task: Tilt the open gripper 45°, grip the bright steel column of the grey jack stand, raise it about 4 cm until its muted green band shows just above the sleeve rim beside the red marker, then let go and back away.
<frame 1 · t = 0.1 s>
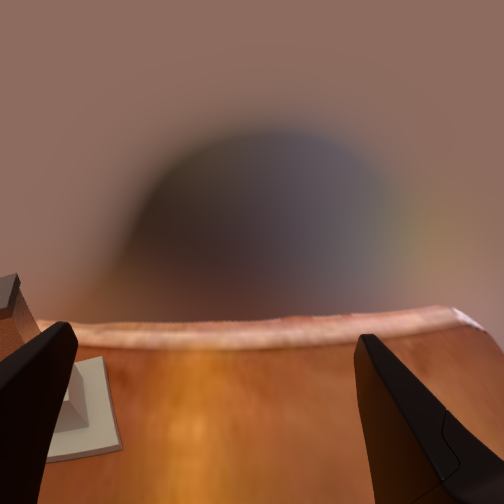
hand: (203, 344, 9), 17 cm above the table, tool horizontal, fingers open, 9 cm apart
stand base: (63, 412, 22), on the table
column: (26, 360, 18), point 7 cm above the table, slide at 0.0 cm
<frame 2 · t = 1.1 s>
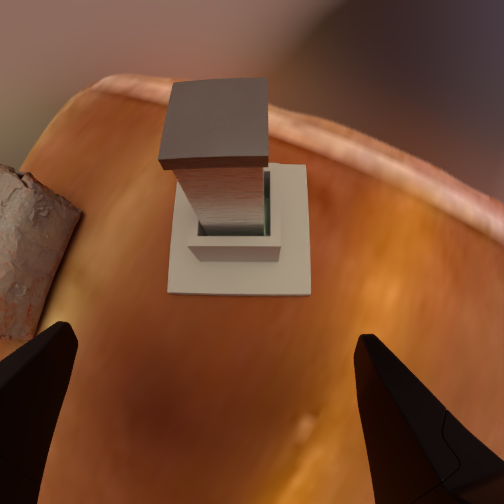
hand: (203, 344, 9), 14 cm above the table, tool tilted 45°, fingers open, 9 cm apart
stand base: (240, 229, 24), on the table
column: (231, 185, 17), point 7 cm above the table, slide at 0.0 cm
food item: (35, 270, 24), on the table
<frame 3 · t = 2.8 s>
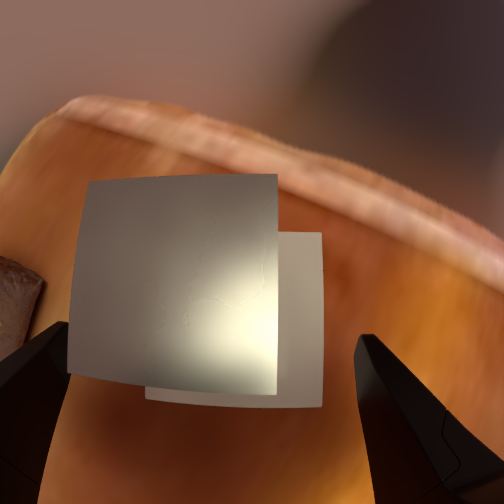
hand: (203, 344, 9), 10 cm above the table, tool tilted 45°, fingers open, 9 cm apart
stand base: (234, 319, 18), on the table
column: (216, 308, 11), point 7 cm above the table, slide at 0.0 cm
food item: (1, 343, 19), on the table
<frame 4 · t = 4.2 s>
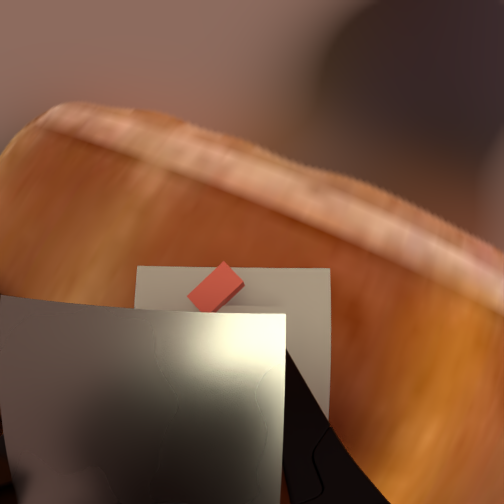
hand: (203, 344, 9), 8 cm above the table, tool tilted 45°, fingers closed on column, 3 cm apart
stand base: (230, 366, 16), on the table
column: (204, 389, 9), point 7 cm above the table, slide at 0.0 cm, touching gripper
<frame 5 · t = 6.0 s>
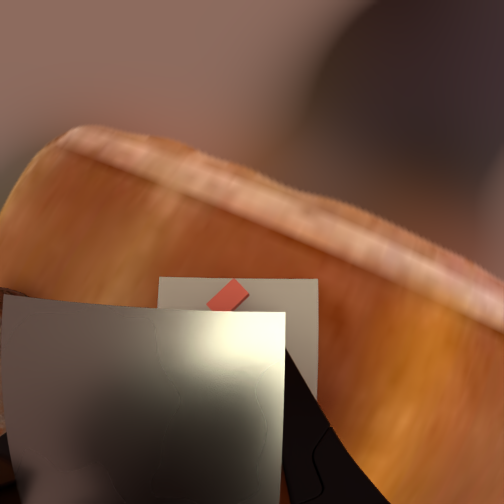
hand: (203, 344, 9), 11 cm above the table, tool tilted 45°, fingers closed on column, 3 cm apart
stand base: (236, 358, 20), on the table
column: (205, 386, 9), point 11 cm above the table, slide at 3.7 cm, touching gripper
food item: (17, 371, 20), on the table
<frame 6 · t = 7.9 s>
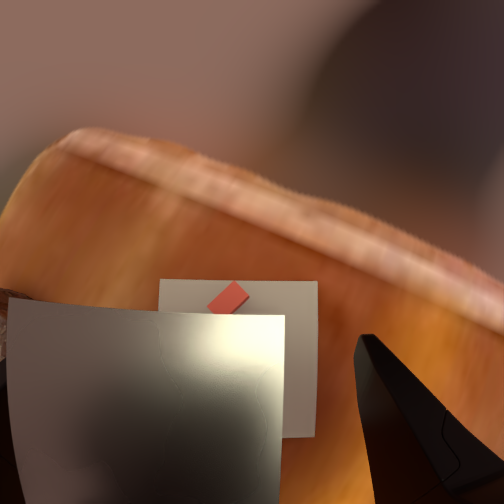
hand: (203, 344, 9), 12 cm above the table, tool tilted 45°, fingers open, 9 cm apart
stand base: (236, 360, 20), on the table
column: (205, 388, 9), point 11 cm above the table, slide at 3.8 cm
food item: (19, 372, 20), on the table
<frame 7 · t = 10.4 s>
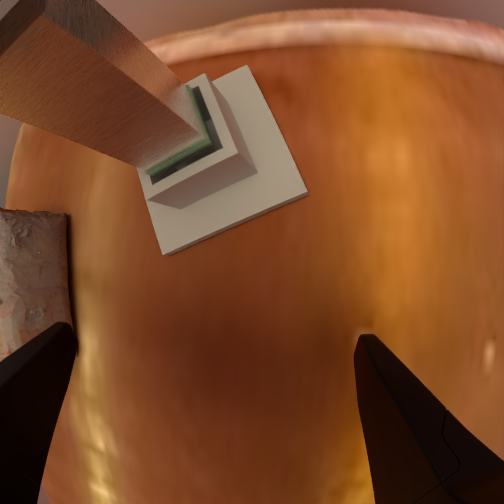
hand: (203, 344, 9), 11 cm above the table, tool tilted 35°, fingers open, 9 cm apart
stand base: (209, 158, 21), on the table
column: (105, 85, 10), point 11 cm above the table, slide at 3.8 cm
food item: (54, 290, 25), on the table
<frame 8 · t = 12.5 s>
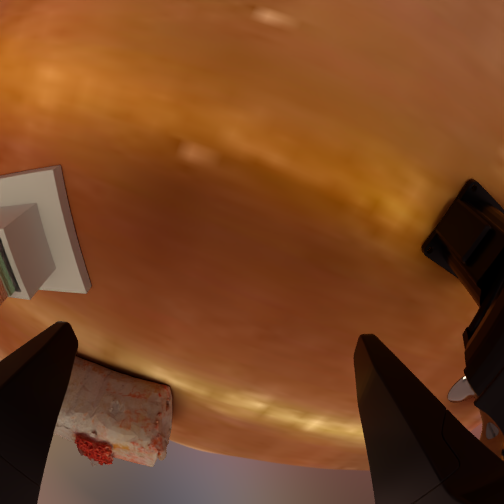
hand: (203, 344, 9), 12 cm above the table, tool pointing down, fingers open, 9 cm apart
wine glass: (471, 383, 30), on the table
stand base: (28, 231, 21), on the table
food item: (118, 381, 30), on the table
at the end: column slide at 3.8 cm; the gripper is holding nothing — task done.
